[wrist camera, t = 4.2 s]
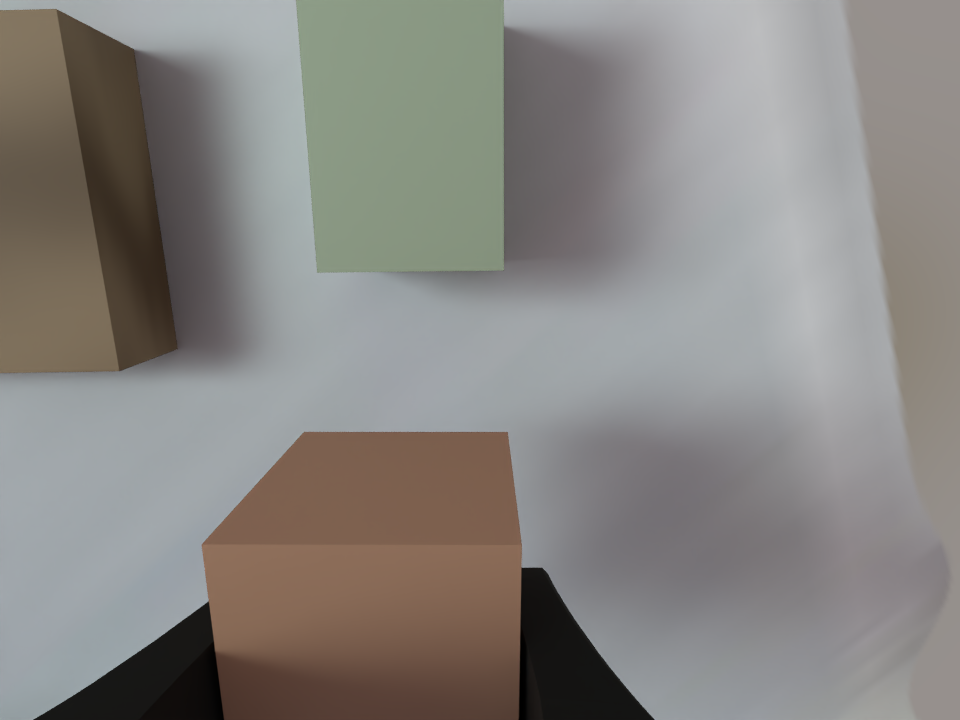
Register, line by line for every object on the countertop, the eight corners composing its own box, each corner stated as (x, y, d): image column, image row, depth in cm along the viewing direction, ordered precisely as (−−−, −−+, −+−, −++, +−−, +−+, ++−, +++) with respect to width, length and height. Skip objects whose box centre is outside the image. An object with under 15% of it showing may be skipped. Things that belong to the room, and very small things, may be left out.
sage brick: (498, 261, 16) (503, 270, 12) (358, 262, 16) (317, 272, 12) (498, 27, 14) (503, -52, 10) (345, 29, 14) (292, -48, 10)
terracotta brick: (504, 688, 12) (515, 907, 8) (323, 688, 12) (247, 905, 8) (507, 431, 11) (521, 545, 7) (304, 432, 11) (201, 544, 7)
